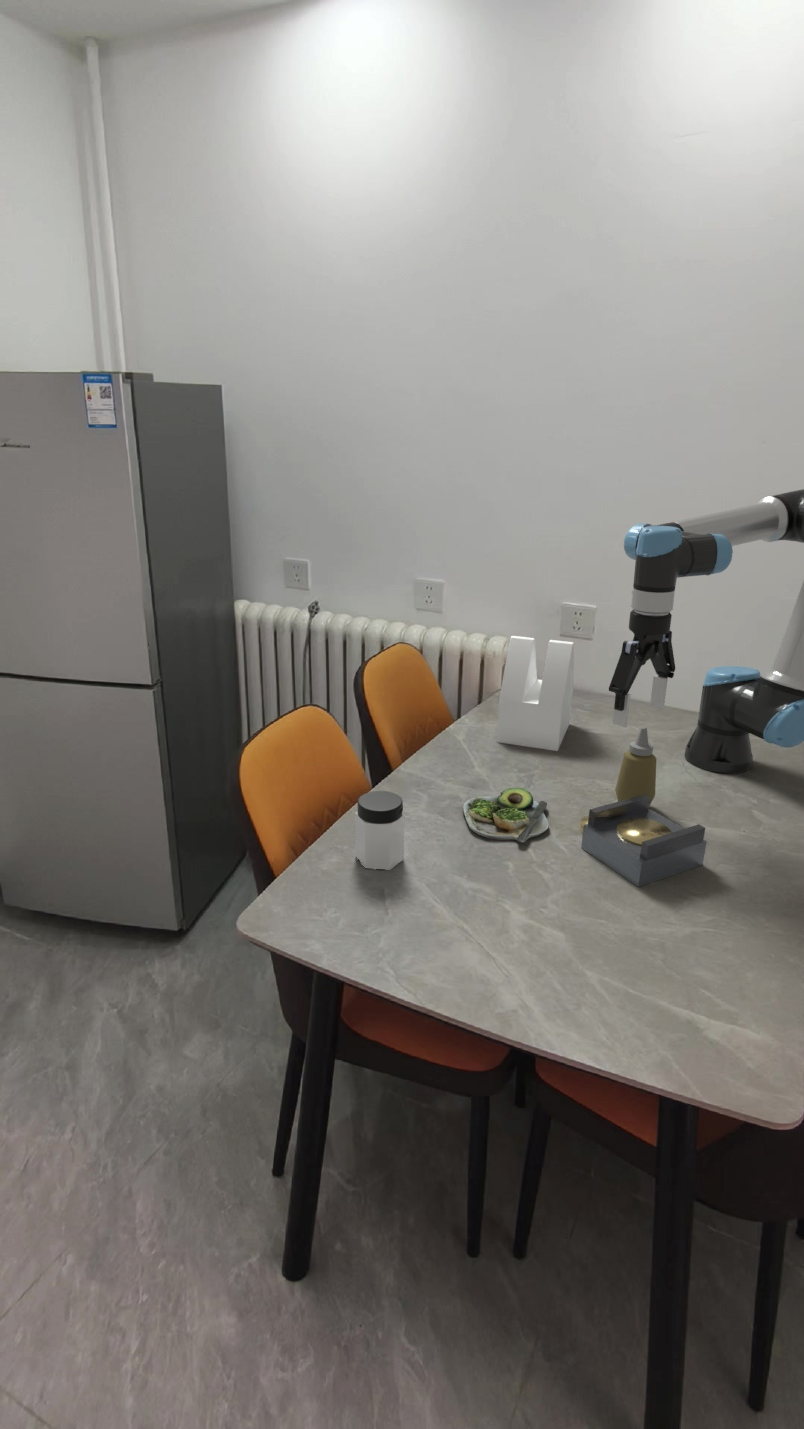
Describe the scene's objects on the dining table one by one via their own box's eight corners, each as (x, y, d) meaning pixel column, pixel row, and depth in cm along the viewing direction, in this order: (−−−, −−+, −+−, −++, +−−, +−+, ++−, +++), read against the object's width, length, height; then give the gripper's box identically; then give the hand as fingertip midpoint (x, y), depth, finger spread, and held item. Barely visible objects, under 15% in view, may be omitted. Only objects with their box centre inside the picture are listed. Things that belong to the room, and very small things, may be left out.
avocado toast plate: (563, 849, 151) (565, 828, 150) (470, 850, 150) (471, 828, 149) (542, 803, 169) (544, 783, 168) (459, 803, 169) (460, 783, 167)
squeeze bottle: (654, 818, 163) (666, 737, 156) (614, 814, 164) (624, 733, 158) (651, 801, 170) (662, 722, 164) (612, 796, 172) (622, 719, 165)
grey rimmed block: (643, 829, 158) (648, 793, 156) (702, 865, 146) (709, 826, 143) (581, 847, 151) (585, 810, 148) (638, 887, 139) (643, 847, 136)
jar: (410, 865, 144) (411, 806, 140) (369, 875, 141) (369, 815, 136) (389, 842, 152) (390, 786, 147) (350, 851, 148) (349, 794, 144)
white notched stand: (557, 751, 195) (567, 653, 186) (496, 742, 199) (502, 646, 191) (569, 724, 212) (578, 633, 203) (512, 716, 216) (519, 627, 207)
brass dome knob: (596, 821, 162) (597, 813, 161) (616, 835, 157) (618, 826, 156) (573, 828, 159) (574, 819, 158) (593, 842, 154) (594, 833, 153)
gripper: (667, 597, 160) (654, 696, 167) (596, 618, 144) (586, 727, 151) (702, 603, 155) (687, 705, 162) (632, 626, 139) (620, 738, 146)
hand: (638, 716), depth 157 cm, fingers open, 13 cm apart
